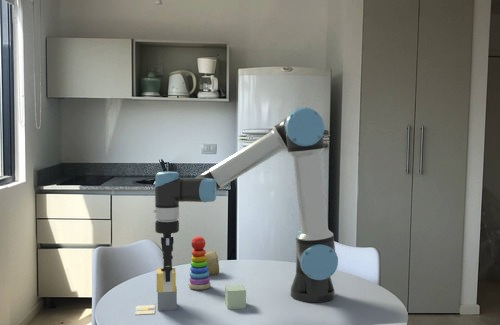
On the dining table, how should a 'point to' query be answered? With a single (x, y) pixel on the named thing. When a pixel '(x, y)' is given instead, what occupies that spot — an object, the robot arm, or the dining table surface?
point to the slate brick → (167, 300)
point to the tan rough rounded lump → (212, 262)
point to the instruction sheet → (145, 309)
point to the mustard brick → (160, 280)
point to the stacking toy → (199, 266)
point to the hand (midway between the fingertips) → (167, 285)
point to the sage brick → (235, 296)
